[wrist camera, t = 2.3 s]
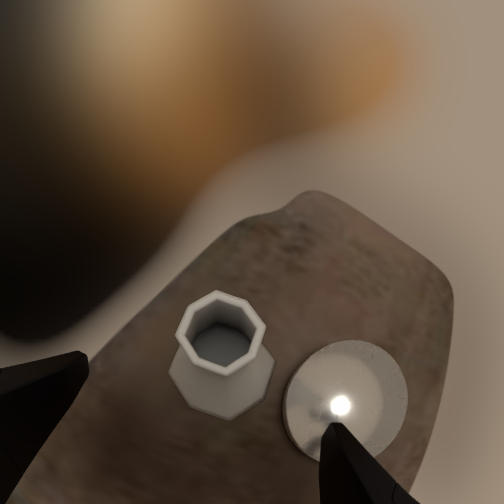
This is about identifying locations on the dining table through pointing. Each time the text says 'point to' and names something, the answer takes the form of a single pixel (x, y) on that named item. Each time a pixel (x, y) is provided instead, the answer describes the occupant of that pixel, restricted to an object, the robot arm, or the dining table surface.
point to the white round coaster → (345, 397)
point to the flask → (221, 356)
